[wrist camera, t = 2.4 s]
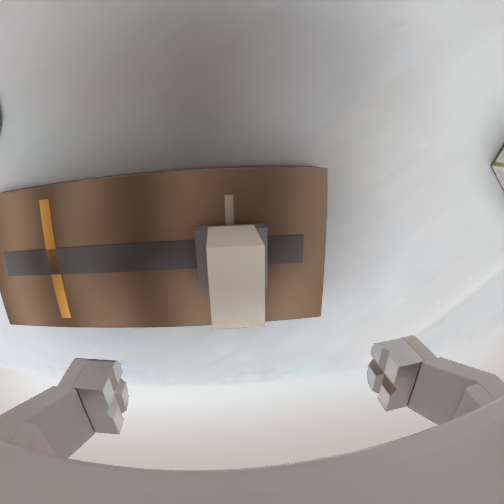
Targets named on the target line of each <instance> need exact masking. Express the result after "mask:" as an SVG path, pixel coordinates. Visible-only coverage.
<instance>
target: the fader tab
mask: <svg viewBox="0 0 504 504" xmlns="http://www.w3.org/2000/svg"><path fill="white" fill-rule="evenodd" d="M195 246H196V259H197V272H198V284H199V292H205V291H209V295H210V307H211V319H212V330H214V329H231V328H246V327H260V326H265V288H268V262H267V227H266V225H265V224H264V223H258V224H235V225H214V226H196V227H195Z"/></svg>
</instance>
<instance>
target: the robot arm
mask: <svg viewBox="0 0 504 504" xmlns="http://www.w3.org/2000/svg"><path fill="white" fill-rule="evenodd" d="M371 356H372V357H373V360H372V361H371V362H370V364H369V365H368V370H367V378H368V383H369V386H370V387H371V389H372V391H374V392H377V393H378V394H379V396H378V400H379V402H380V403H381V405H382V406H383V408H384V409H385V411H389V410H393V409H398V408H402V407H405V406H408V408H410V409H412V410H413V411H415V412H417V413H419V414H421V415H422V416H424V417H425V418H427V419H429V420H431V421H432V422H434V423H436V424H438V425H437V426H435V427H432V428H430V429H427V430H424V431H421V432H419V433H415V434H413V435H410V436H407V437H404V438H401V439H397V440H394V441H390V442H387V443H384V444H380V445H377V446H373V447H369V448H365V449H361V450H357V451H353V452H348V453H344V454H339V455H334V456H330V457H324V458H319V459H314V460H308V461H302V462H295V463H288V464H281V465H273V466H264V467H254V468H241V469H224V470H160V469H144V468H132V467H122V466H112V465H105V464H98V463H91V462H84V461H79V460H73V459H68V458H69V457H70V456H71V455H72V454H73V453H74V452H75V451H76V450H77V449H78V448H80V447H81V446H82V445H83V444H84V443H85V442H86V441H87V440H88V439H90V438H91V437H92V436H93V435H94V434H95V432H97V433H98V432H99V433H110V434H119V433H120V430H121V427H122V423H123V417H122V413H123V412H124V411H126V409H127V406H128V389H127V386H126V382H124V381H123V380H122V379H121V378H120V377H121V375H122V372H123V371H122V368H121V365H120V363H119V362H118V361H113V360H97V359H83V358H76V359H74V360H73V361H72V363H71V365H70V366H69V368H68V370H67V371H66V373H65V375H64V376H63V378H62V379H61V381H60V383H59V384H58V386H57V387H56V386H53V387H51V388H49V389H47V390H45V391H44V392H42V393H40V394H38V395H36V396H35V397H33V398H31V399H29V400H27V401H25V402H24V403H22V404H20V405H18V406H16V407H14V408H12V409H11V410H9V411H7V412H5V413H4V414H1V415H0V504H504V382H503V381H502V380H500V379H499V378H498V377H497V376H496V375H495V374H491V373H488V372H485V371H481V370H479V369H475V368H472V367H469V366H466V365H463V364H460V363H457V362H454V361H451V360H448V359H444V358H442V357H440V358H437V357H436V356H435V355H434V354H433V353H432V352H431V351H430V350H429V349H428V348H427V347H426V346H425V345H424V344H423V343H421V342H420V341H419V340H418V339H417V338H416V337H415V336H412V335H411V336H407V337H402V338H399V339H395V340H390V341H384V342H379V343H374V344H373V346H372V349H371Z"/></svg>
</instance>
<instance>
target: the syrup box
mask: <svg viewBox="0 0 504 504" xmlns="http://www.w3.org/2000/svg"><path fill="white" fill-rule="evenodd" d="M492 168H493V170H494V172H495V174H496V176H497V178H498V180H499V182H500V184H501V186H502V188H503V190H504V146H503V147H502V149H501V151H500V153H499V154H498V156H497V157H496V159H495V161H494V162H493V164H492Z"/></svg>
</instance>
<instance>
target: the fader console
mask: <svg viewBox="0 0 504 504" xmlns="http://www.w3.org/2000/svg"><path fill="white" fill-rule="evenodd" d="M326 215H327V168H321V167H314V166H255V167H223V168H201V169H184V170H170V171H157V172H145V173H134V174H124V175H115V176H106V177H98V178H90V179H82V180H74V181H67V182H60V183H54V184H47V185H41V186H35V187H29V188H24V189H18V190H13V191H7V192H3V193H0V292H1V296H2V299H3V303H4V306H5V309H6V312H7V316H8V319H9V322H10V324H14V325H32V326H55V327H105V328H123V327H175V326H201V325H212V319H211V307H210V295H209V291H205V292H199V284H198V272H197V259H196V246H195V227H196V226H214V225H235V224H258V223H264V224H265V225H266V227H267V262H268V288H265V321H277V320H289V319H299V318H309V317H319V316H321V305H322V292H323V277H324V261H325V241H326Z"/></svg>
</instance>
